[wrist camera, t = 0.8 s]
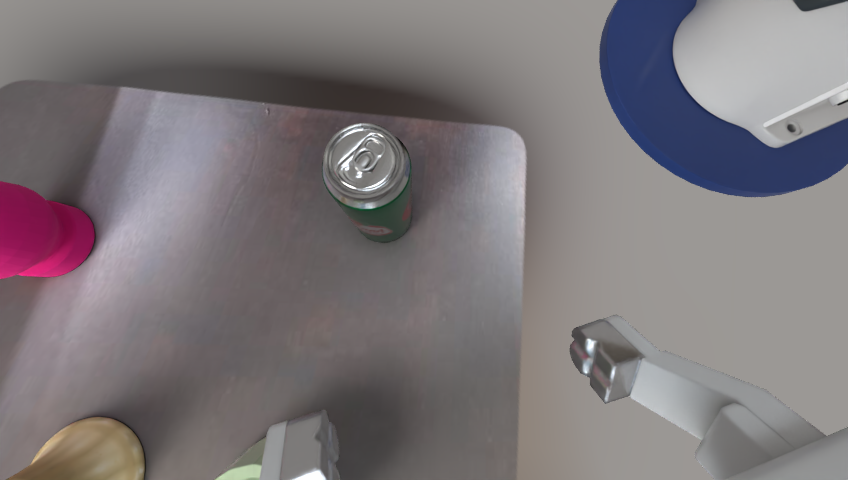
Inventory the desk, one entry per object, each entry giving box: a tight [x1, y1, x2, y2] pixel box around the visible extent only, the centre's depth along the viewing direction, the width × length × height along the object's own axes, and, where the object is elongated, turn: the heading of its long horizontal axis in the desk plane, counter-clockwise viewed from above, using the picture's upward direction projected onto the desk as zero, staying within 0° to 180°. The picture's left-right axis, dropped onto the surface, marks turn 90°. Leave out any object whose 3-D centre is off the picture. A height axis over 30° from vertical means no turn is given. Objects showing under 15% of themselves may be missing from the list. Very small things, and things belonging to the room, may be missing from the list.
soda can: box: [322, 123, 412, 243], centre depth 23 cm, size 5×5×12 cm
